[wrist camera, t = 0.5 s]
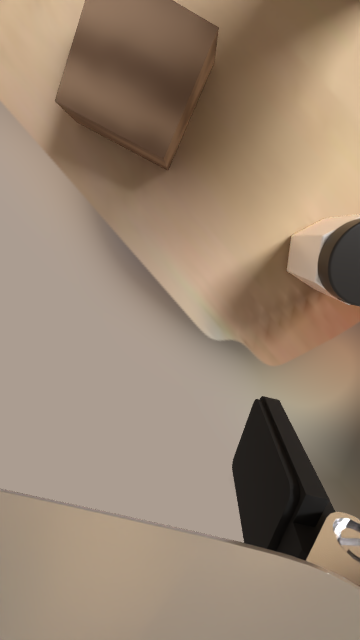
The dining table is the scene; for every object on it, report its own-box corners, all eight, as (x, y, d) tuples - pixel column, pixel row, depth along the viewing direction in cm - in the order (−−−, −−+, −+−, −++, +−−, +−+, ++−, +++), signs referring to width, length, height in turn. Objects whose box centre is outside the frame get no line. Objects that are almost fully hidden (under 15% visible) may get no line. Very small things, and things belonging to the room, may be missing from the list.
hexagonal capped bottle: (297, 297, 39) (341, 324, 28) (274, 242, 37) (310, 247, 26) (363, 266, 38) (437, 280, 26) (341, 207, 36) (412, 195, 24)
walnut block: (115, 7, 31) (98, -44, 26) (214, 63, 32) (218, 27, 27) (77, 122, 35) (54, 100, 29) (168, 170, 36) (163, 158, 30)
